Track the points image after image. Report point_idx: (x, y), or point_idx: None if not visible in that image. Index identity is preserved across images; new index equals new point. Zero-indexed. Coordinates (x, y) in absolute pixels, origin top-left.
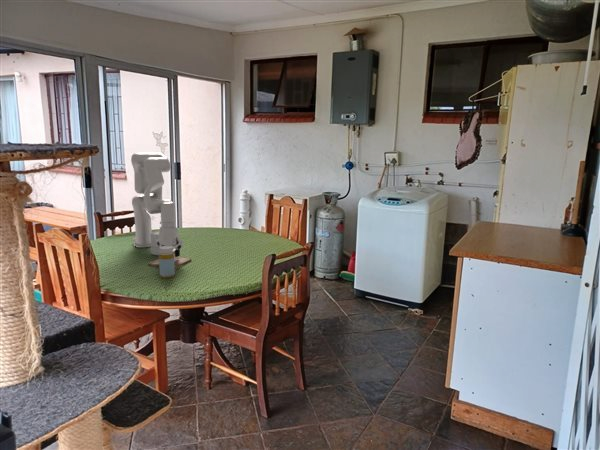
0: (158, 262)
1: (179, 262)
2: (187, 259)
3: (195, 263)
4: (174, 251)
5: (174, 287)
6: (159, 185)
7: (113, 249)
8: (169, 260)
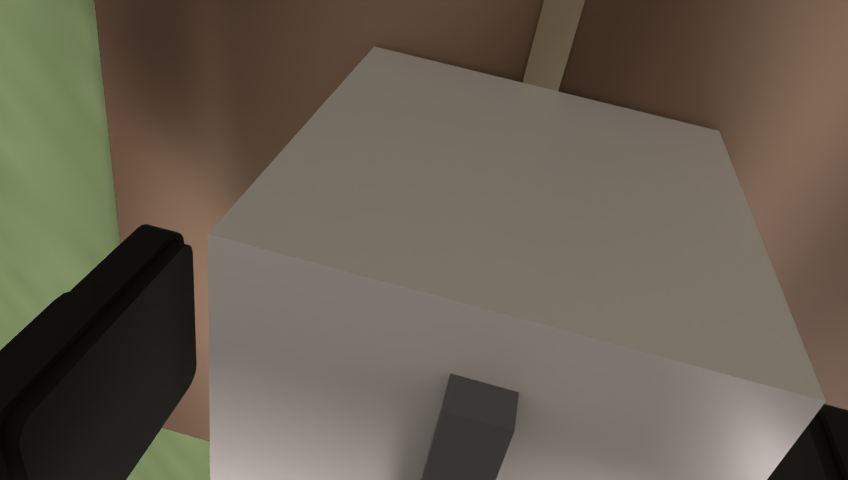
0: (821, 97)
1: (204, 187)
2: (186, 392)
3: (3, 275)
4: (220, 462)
5: None
6: None
7: None
8: None
